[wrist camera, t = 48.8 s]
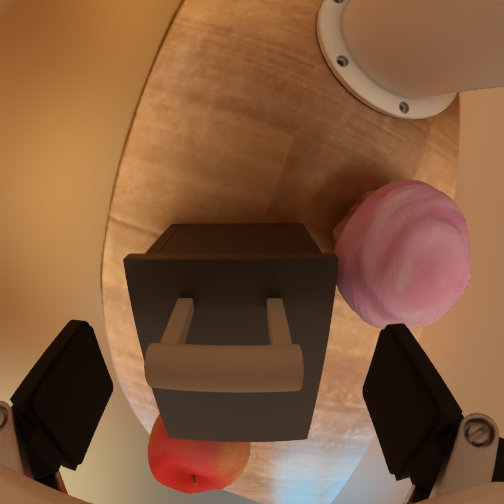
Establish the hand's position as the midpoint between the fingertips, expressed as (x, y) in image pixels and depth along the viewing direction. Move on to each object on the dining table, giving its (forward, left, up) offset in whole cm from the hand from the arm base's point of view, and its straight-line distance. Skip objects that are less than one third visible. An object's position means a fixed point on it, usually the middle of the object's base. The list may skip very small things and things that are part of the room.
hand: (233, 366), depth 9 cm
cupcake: (-1, +10, -14) cm, 17 cm away
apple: (+18, -4, -14) cm, 23 cm away
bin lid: (+5, 0, -5) cm, 7 cm away
